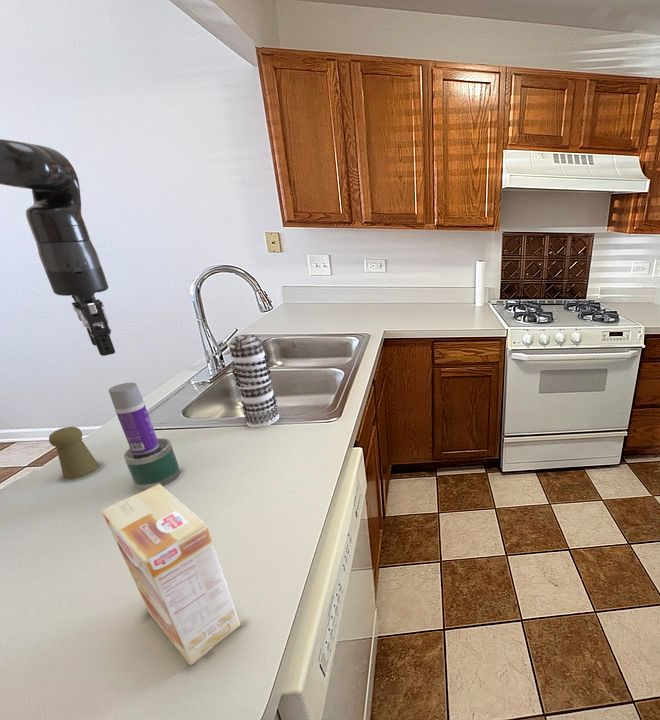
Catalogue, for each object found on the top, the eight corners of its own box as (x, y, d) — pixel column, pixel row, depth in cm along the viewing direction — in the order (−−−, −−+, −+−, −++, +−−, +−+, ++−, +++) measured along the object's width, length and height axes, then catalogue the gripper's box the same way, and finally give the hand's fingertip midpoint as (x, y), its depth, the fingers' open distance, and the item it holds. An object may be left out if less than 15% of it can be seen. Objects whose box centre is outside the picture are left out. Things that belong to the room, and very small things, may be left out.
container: (163, 446, 87) (141, 385, 82) (137, 457, 83) (113, 394, 78) (153, 440, 89) (131, 380, 84) (128, 451, 86) (103, 388, 80)
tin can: (127, 492, 85) (114, 461, 82) (147, 469, 92) (136, 440, 89) (169, 487, 87) (158, 456, 84) (186, 465, 94) (177, 436, 91)
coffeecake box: (144, 609, 61) (98, 510, 53) (196, 575, 66) (160, 481, 59) (188, 669, 53) (141, 562, 46) (243, 625, 58) (208, 523, 51)
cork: (61, 482, 88) (41, 440, 84) (65, 469, 93) (45, 429, 88) (98, 471, 92) (80, 431, 88) (99, 459, 96) (82, 420, 92)
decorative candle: (287, 417, 115) (270, 335, 106) (256, 431, 108) (235, 345, 98) (270, 408, 120) (252, 329, 110) (238, 422, 112) (216, 338, 103)
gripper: (40, 264, 74) (73, 346, 80) (48, 273, 66) (83, 363, 72) (94, 260, 79) (121, 337, 85) (107, 268, 71) (136, 352, 77)
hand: (104, 349), depth 79 cm, fingers open, 8 cm apart
